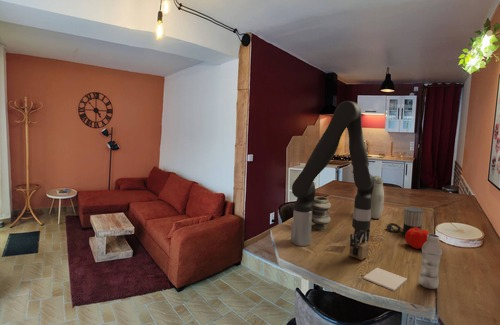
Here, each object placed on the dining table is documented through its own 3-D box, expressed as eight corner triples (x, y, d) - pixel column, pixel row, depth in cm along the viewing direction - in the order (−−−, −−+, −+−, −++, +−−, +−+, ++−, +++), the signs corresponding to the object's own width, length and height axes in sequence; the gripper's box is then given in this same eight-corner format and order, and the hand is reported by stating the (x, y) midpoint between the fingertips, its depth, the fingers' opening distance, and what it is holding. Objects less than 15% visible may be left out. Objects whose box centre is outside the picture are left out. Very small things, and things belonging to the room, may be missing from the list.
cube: (349, 255, 135) (350, 242, 134) (355, 251, 139) (356, 239, 138) (361, 259, 131) (362, 247, 130) (368, 256, 135) (369, 243, 134)
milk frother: (424, 238, 160) (427, 211, 158) (394, 237, 161) (397, 211, 159) (411, 229, 174) (413, 204, 173) (383, 228, 175) (385, 204, 173)
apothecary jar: (307, 230, 170) (309, 199, 167) (309, 223, 181) (311, 194, 179) (329, 232, 166) (331, 201, 164) (330, 225, 178) (332, 196, 175)
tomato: (435, 252, 142) (437, 234, 141) (408, 250, 145) (409, 232, 144) (426, 243, 153) (428, 227, 152) (401, 241, 155) (403, 225, 154)
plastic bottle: (430, 281, 115) (435, 232, 112) (442, 291, 108) (448, 239, 106) (414, 281, 115) (418, 232, 112) (425, 291, 108) (430, 239, 106)
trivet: (363, 278, 117) (363, 276, 117) (376, 268, 125) (376, 267, 125) (394, 291, 108) (394, 289, 108) (407, 280, 116) (407, 278, 116)
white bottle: (362, 216, 197) (365, 175, 193) (373, 215, 201) (376, 174, 198) (374, 221, 188) (377, 177, 184) (385, 219, 192) (388, 176, 189)
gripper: (361, 212, 140) (358, 246, 142) (345, 218, 130) (342, 254, 133) (377, 216, 135) (374, 251, 137) (361, 223, 125) (358, 260, 127)
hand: (358, 253), depth 135 cm, fingers closed on cube, 6 cm apart
